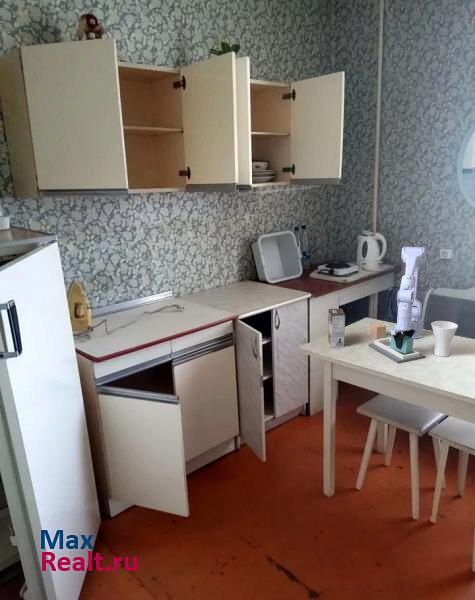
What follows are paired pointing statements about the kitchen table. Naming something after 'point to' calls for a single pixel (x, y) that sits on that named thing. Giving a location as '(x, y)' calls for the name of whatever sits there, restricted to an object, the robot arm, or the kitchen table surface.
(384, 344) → the shape board
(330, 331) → the coffee box
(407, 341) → the teal bar
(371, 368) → the kitchen table surface
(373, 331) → the terracotta block
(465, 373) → the kitchen table surface
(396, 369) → the kitchen table surface
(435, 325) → the cup
